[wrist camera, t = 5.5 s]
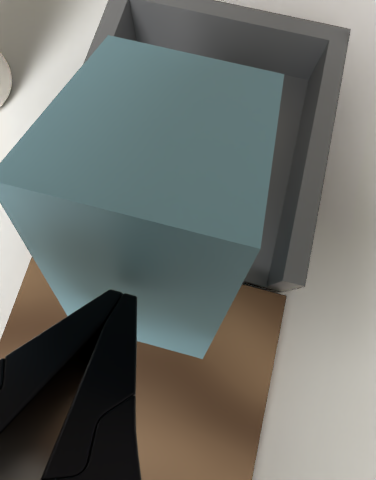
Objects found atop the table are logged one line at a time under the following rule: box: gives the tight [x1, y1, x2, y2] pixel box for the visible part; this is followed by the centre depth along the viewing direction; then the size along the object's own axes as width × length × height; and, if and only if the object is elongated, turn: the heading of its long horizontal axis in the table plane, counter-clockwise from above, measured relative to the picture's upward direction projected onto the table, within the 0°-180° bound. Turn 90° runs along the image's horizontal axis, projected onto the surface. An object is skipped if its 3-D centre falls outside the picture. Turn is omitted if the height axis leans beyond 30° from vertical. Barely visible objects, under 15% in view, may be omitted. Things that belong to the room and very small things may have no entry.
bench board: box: [0, 257, 286, 480], centre depth 16 cm, size 11×13×2 cm
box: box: [84, 0, 351, 292], centre depth 18 cm, size 14×13×4 cm
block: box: [0, 35, 284, 359], centre depth 12 cm, size 7×6×9 cm
